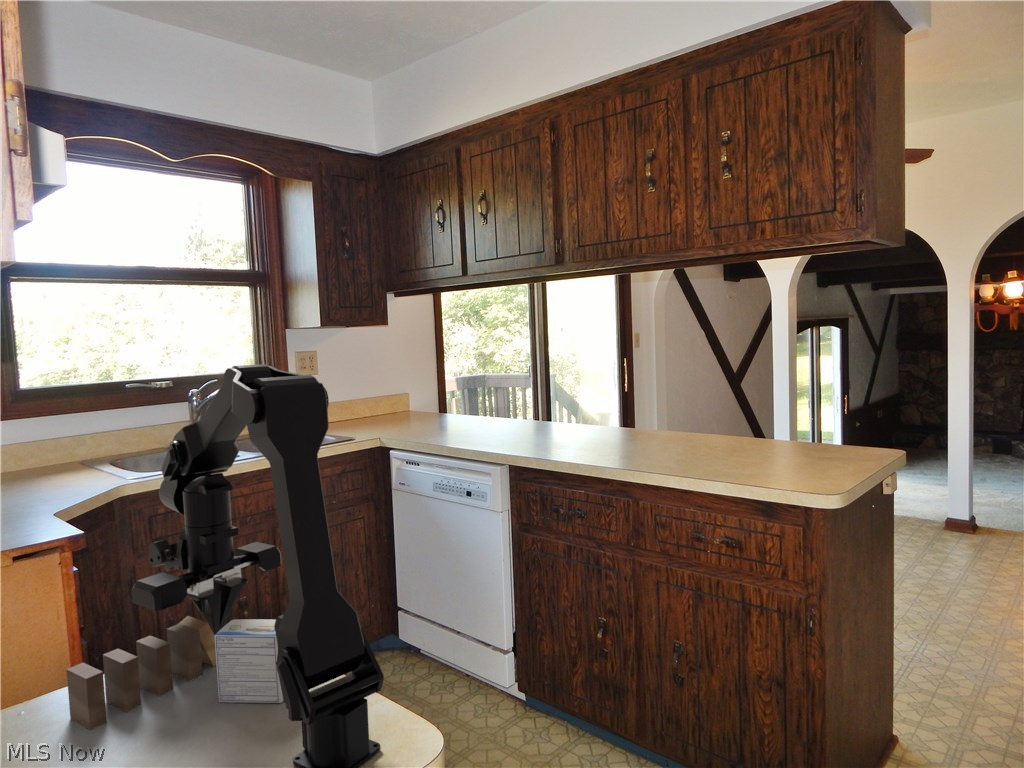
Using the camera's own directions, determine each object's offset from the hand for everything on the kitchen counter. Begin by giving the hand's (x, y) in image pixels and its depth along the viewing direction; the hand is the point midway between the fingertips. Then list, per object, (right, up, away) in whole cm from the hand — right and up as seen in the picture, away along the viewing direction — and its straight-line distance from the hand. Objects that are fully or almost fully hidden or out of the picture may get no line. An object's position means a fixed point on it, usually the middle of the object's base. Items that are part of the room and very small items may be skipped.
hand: (215, 634), depth 91 cm
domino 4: (-2, -4, -3) cm, 6 cm away
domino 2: (-7, -5, -10) cm, 13 cm away
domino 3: (-4, -4, -7) cm, 9 cm away
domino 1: (-9, -5, -14) cm, 17 cm away
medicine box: (+9, -4, -9) cm, 13 cm away
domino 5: (-1, -3, 0) cm, 3 cm away
